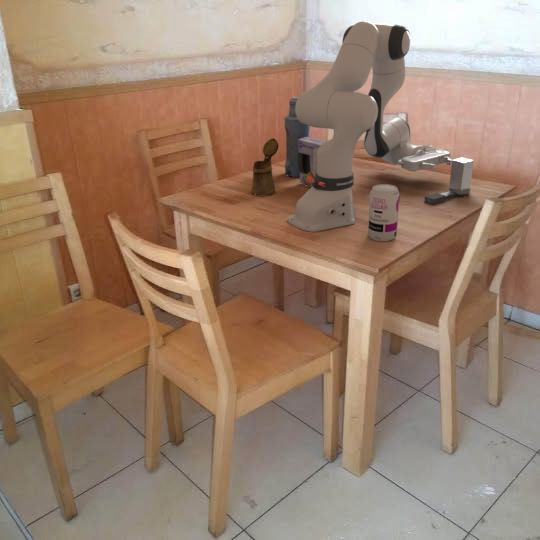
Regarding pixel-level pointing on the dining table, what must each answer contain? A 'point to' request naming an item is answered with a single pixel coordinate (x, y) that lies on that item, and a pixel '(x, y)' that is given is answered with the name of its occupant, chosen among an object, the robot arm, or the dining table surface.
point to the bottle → (293, 139)
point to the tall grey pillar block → (461, 174)
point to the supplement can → (383, 212)
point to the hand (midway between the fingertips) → (443, 164)
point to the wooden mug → (264, 171)
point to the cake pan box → (308, 158)
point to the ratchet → (445, 196)
